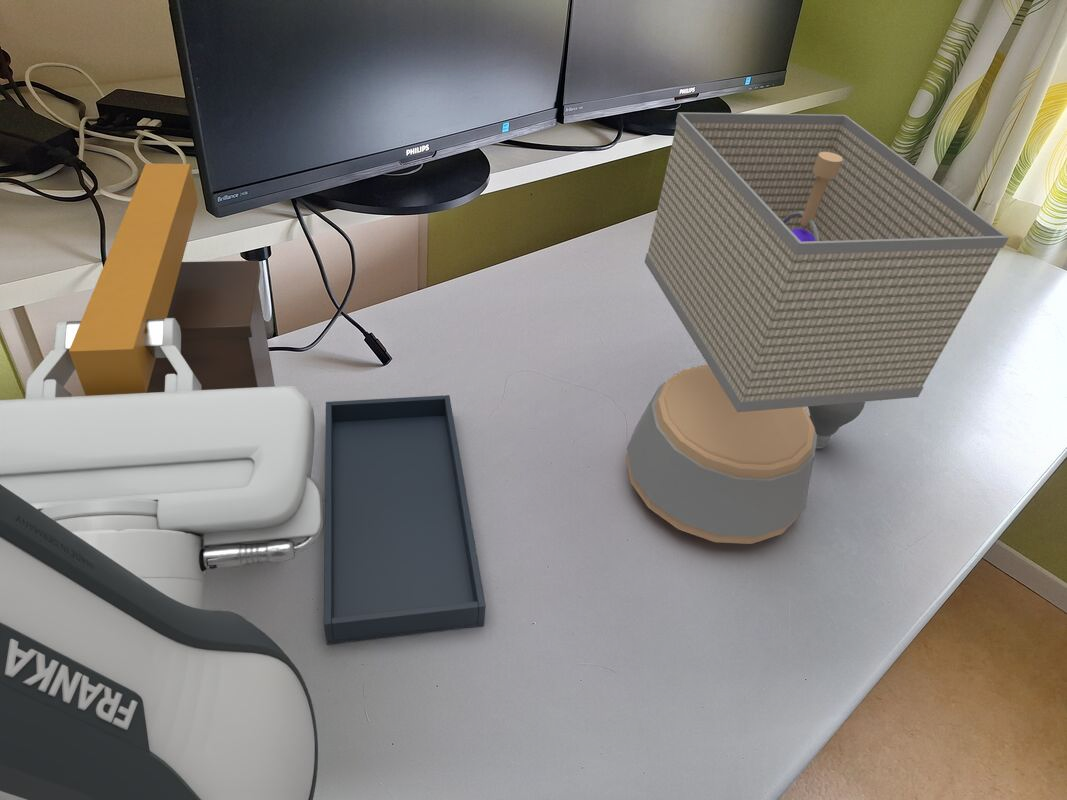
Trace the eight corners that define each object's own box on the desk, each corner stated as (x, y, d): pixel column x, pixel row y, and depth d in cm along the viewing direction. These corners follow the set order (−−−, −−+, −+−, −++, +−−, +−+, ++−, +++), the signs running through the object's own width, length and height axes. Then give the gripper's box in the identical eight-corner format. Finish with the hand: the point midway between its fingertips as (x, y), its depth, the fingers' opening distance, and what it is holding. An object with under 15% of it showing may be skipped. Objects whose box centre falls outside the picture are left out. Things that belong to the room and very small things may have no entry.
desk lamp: (839, 556, 76) (1034, 224, 52) (661, 581, 71) (783, 231, 47) (747, 411, 91) (863, 104, 67) (596, 423, 87) (663, 100, 63)
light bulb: (796, 460, 86) (827, 393, 79) (781, 424, 90) (810, 358, 84) (847, 463, 86) (882, 396, 80) (830, 427, 91) (862, 361, 84)
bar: (85, 396, 40) (68, 351, 38) (154, 201, 56) (145, 163, 54) (146, 393, 41) (133, 348, 39) (198, 201, 57) (190, 163, 55)
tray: (326, 644, 63) (323, 624, 61) (328, 422, 83) (325, 401, 81) (483, 626, 66) (485, 606, 64) (448, 414, 86) (449, 394, 84)
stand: (167, 569, 67) (80, 331, 50) (181, 496, 73) (108, 262, 56) (292, 557, 69) (250, 326, 52) (295, 487, 76) (258, 260, 59)
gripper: (319, 549, 37) (311, 292, 41) (-174, 595, 33) (-127, 303, 37) (328, 564, 43) (320, 338, 47) (-89, 606, 38) (-57, 353, 43)
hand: (120, 323), depth 42 cm, fingers closed on bar, 3 cm apart
